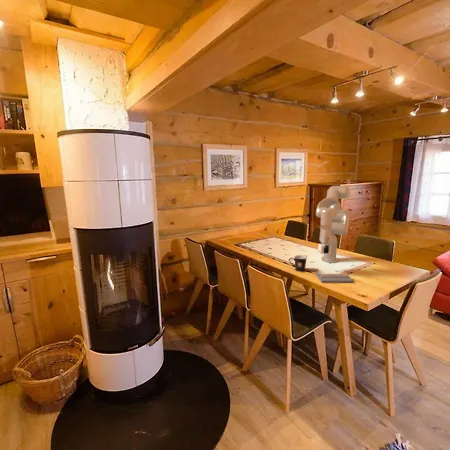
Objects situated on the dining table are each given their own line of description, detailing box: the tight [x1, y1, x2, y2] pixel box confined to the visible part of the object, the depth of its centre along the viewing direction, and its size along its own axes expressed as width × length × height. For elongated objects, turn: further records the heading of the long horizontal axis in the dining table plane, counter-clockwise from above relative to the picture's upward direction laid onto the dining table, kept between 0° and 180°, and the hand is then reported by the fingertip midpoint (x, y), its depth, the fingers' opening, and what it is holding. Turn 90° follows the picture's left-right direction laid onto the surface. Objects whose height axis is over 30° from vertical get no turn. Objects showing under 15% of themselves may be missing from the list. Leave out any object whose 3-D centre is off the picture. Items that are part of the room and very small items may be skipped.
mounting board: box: [316, 273, 354, 284], centre depth 182 cm, size 12×20×2 cm, turn 88°
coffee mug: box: [288, 254, 307, 273], centre depth 200 cm, size 12×9×10 cm
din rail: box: [319, 273, 350, 278], centre depth 182 cm, size 2×18×2 cm, turn 88°
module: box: [317, 243, 331, 255], centre depth 193 cm, size 6×7×6 cm
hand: (324, 251), depth 193 cm, fingers closed on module, 6 cm apart
